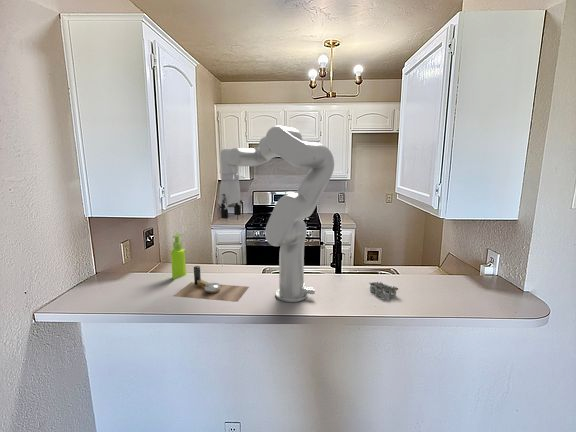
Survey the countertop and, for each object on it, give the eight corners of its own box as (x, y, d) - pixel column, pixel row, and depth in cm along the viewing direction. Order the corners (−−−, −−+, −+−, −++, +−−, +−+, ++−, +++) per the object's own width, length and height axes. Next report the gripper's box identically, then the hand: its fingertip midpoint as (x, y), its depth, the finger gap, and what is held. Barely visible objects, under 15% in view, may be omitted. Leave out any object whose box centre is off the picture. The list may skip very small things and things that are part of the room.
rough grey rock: (399, 298, 118) (399, 288, 117) (382, 301, 116) (383, 291, 115) (382, 287, 128) (382, 278, 127) (367, 290, 125) (367, 280, 125)
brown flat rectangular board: (249, 290, 125) (249, 286, 125) (237, 305, 111) (237, 300, 111) (191, 285, 130) (191, 281, 129) (173, 299, 116) (173, 295, 116)
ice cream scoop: (223, 290, 120) (222, 273, 119) (210, 294, 116) (209, 277, 115) (202, 280, 131) (201, 264, 129) (189, 284, 126) (188, 268, 125)
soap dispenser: (189, 274, 142) (186, 233, 139) (182, 280, 136) (180, 236, 132) (177, 274, 143) (174, 233, 140) (170, 279, 136) (167, 236, 133)
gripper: (234, 177, 141) (235, 213, 144) (210, 178, 126) (212, 219, 129) (248, 177, 138) (248, 214, 141) (225, 179, 123) (226, 220, 126)
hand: (231, 216), depth 135 cm, fingers open, 9 cm apart
